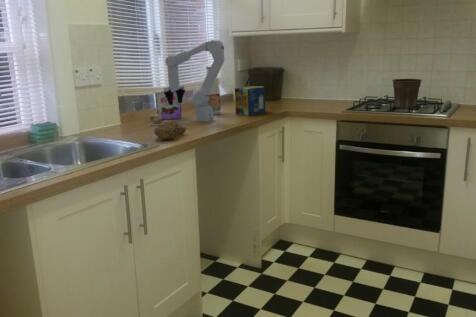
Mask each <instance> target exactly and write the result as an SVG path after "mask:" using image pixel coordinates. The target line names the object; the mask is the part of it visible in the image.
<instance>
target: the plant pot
mask: <svg viewBox="0 0 476 317" xmlns="http://www.w3.org/2000/svg"><path fill="white" fill-rule="evenodd" d="M391 81H392V86H393V99H394V108H395V107H396V108H397V109H404V110H406V109H407V110H409V108H410V109H416V108H417V106H418V98H419V92H420V88H421V83H422V81H423V80H422V79H421V78H420V79H419V78H397V79H396V78H395V79H392V80H391Z"/></svg>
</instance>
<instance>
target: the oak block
mask: <svg viewBox="0 0 476 317" xmlns="http://www.w3.org/2000/svg"><path fill="white" fill-rule="evenodd" d="M162 121H163V119H162V115H158V114H150V115H149V124H161V123H162Z"/></svg>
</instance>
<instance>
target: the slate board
mask: <svg viewBox="0 0 476 317" xmlns="http://www.w3.org/2000/svg"><path fill="white" fill-rule="evenodd" d="M173 121H175V122H178V123H181V124H184V125H185V124H187V123H190V122H191V121H186V120H173ZM161 125H163V124H161ZM161 125H148V124H146V125H145V126H148V127H159V126H161Z"/></svg>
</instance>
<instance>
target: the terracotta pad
mask: <svg viewBox="0 0 476 317" xmlns="http://www.w3.org/2000/svg"><path fill="white" fill-rule="evenodd" d="M172 121H173V120H172V119H163V120H162V123H168V122H172Z"/></svg>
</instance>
